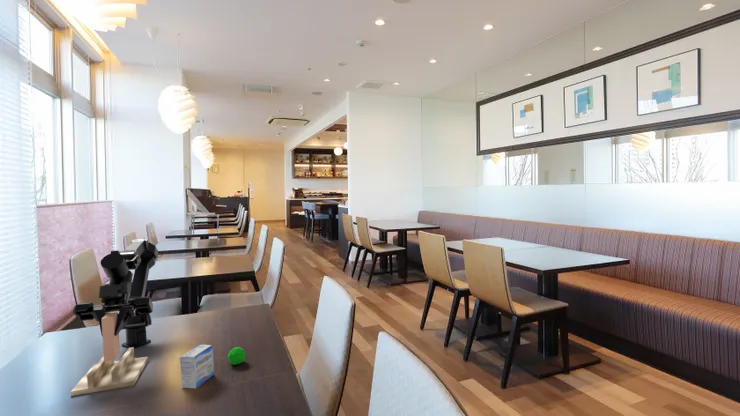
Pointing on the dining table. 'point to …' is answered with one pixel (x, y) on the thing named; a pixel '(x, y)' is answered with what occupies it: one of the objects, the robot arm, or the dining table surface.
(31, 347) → the dining table surface
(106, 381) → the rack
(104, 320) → the pink rectangular block
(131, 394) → the dining table surface
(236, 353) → the polyhedron
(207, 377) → the medicine box
